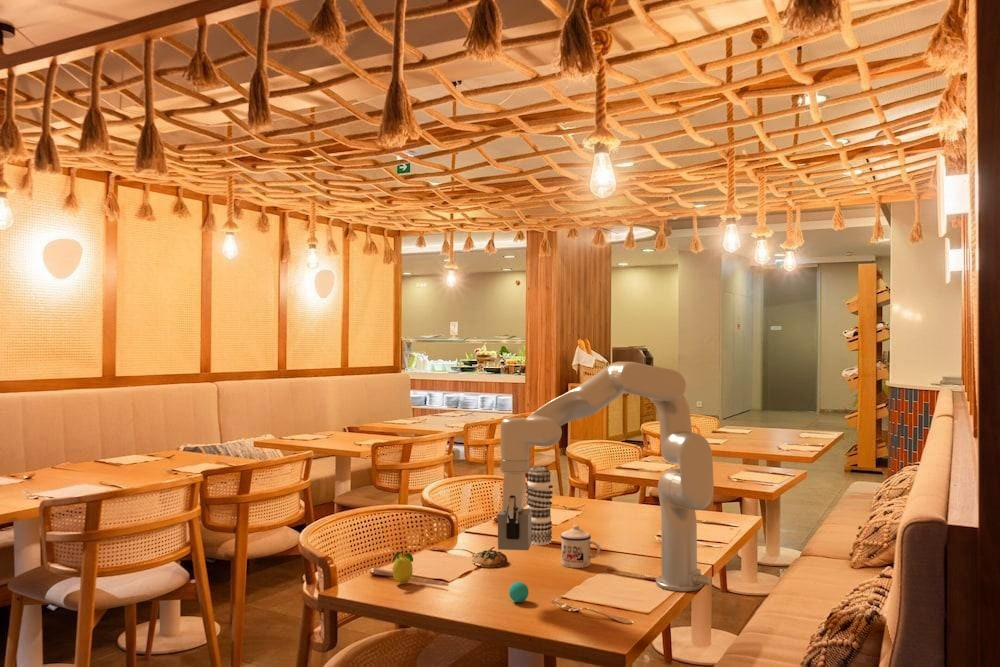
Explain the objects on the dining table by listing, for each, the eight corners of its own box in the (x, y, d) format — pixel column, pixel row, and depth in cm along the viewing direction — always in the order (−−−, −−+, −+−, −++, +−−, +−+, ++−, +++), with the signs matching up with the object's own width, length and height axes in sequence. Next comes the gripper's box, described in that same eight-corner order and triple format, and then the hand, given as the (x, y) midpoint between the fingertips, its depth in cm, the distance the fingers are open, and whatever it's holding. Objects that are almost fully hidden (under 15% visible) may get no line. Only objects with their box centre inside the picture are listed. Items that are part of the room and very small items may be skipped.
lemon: (391, 588, 203) (391, 551, 203) (388, 582, 208) (389, 545, 209) (416, 586, 204) (416, 549, 205) (412, 580, 210) (412, 544, 210)
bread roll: (514, 561, 229) (512, 545, 229) (495, 575, 220) (494, 558, 220) (484, 557, 235) (482, 542, 235) (464, 571, 226) (462, 555, 225)
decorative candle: (540, 537, 260) (539, 465, 261) (558, 542, 253) (558, 468, 254) (520, 541, 254) (520, 467, 255) (538, 546, 247) (538, 470, 248)
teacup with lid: (556, 566, 224) (556, 527, 224) (566, 559, 232) (566, 521, 232) (595, 571, 219) (595, 531, 219) (603, 563, 227) (603, 524, 228)
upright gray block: (531, 542, 195) (531, 508, 196) (528, 550, 188) (527, 515, 188) (502, 542, 197) (502, 508, 197) (498, 549, 189) (497, 514, 189)
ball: (519, 607, 192) (534, 596, 192) (511, 604, 188) (527, 593, 188) (510, 590, 195) (525, 579, 195) (502, 587, 191) (518, 576, 191)
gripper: (505, 461, 202) (505, 526, 201) (495, 470, 185) (495, 542, 184) (533, 461, 201) (533, 527, 200) (525, 471, 184) (525, 543, 183)
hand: (515, 534), depth 192 cm, fingers closed on upright gray block, 7 cm apart
